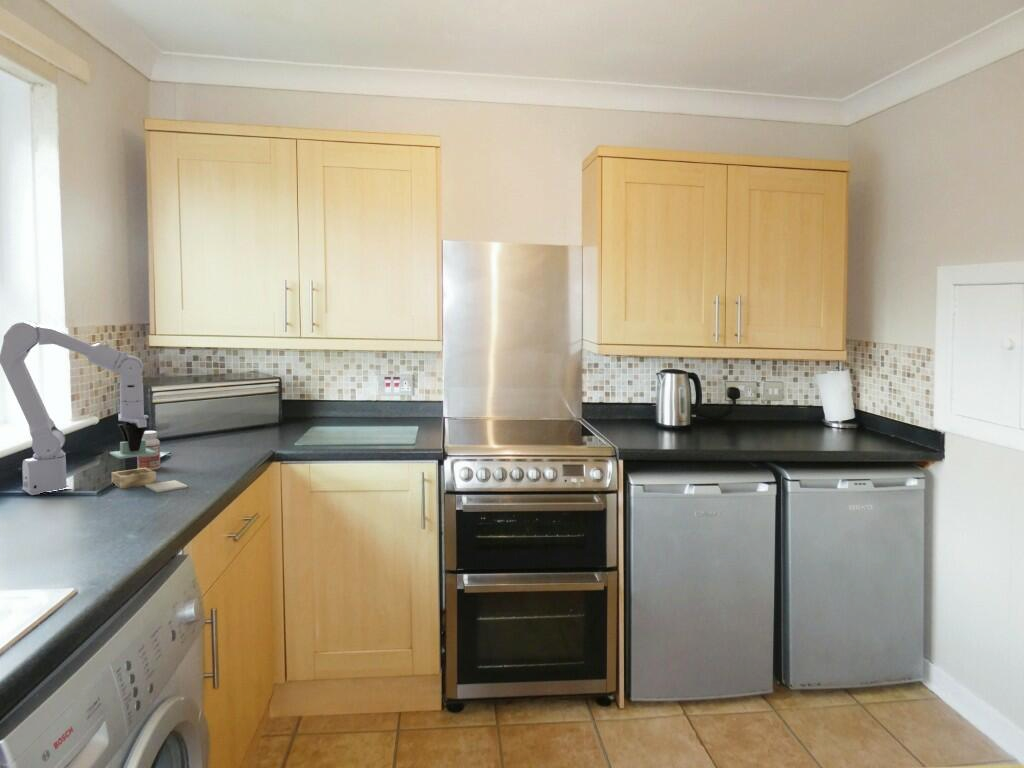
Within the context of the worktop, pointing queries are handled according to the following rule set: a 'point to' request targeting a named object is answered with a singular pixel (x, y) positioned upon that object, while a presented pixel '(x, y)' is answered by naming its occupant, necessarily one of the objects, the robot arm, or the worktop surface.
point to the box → (133, 478)
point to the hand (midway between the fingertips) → (132, 450)
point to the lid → (127, 453)
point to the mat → (166, 486)
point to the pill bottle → (154, 445)
